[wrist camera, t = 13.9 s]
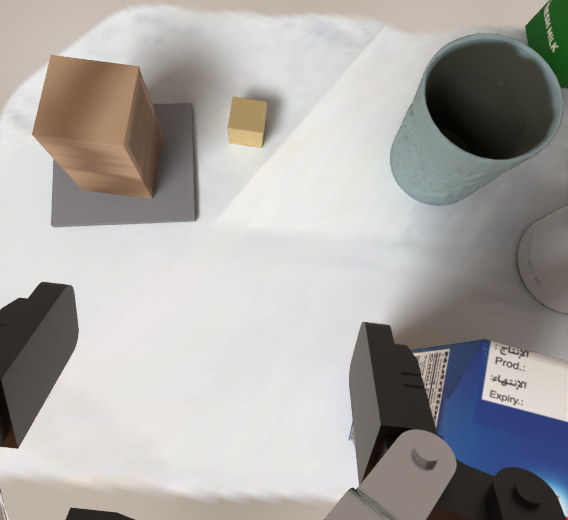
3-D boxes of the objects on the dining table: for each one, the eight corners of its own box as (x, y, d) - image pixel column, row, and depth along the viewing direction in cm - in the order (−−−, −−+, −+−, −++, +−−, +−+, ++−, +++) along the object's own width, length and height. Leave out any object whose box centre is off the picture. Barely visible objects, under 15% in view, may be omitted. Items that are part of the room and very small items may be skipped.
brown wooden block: (163, 135, 45) (138, 66, 35) (152, 198, 44) (123, 145, 34) (95, 127, 45) (50, 55, 35) (82, 190, 43) (32, 134, 33)
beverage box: (365, 356, 43) (482, 338, 21) (490, 389, 43) (734, 405, 21) (347, 439, 41) (455, 511, 20) (477, 473, 41) (726, 582, 20)
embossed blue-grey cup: (499, 139, 48) (579, 64, 36) (467, 233, 46) (542, 185, 34) (400, 99, 48) (448, 11, 36) (363, 191, 46) (403, 128, 34)
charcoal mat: (192, 106, 46) (191, 103, 46) (195, 221, 44) (194, 219, 44) (57, 110, 46) (55, 106, 45) (53, 227, 43) (51, 225, 43)
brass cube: (266, 118, 47) (267, 101, 44) (261, 148, 46) (262, 133, 43) (233, 114, 47) (232, 96, 44) (229, 143, 46) (227, 128, 43)
